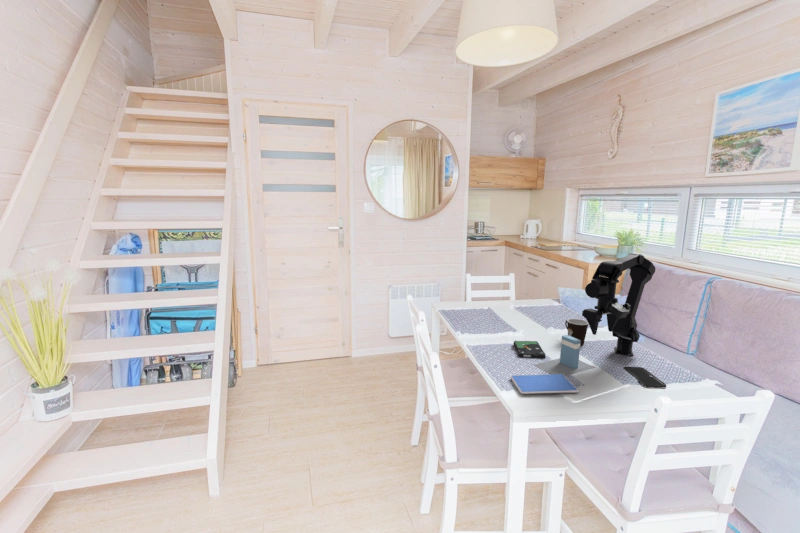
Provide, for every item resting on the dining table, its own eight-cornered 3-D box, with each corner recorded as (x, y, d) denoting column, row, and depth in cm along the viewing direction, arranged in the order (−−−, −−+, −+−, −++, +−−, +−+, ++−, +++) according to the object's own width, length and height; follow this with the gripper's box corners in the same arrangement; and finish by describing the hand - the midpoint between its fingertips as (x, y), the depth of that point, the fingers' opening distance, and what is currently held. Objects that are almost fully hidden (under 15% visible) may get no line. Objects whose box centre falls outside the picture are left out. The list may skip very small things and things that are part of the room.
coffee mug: (588, 347, 171) (590, 325, 169) (567, 345, 173) (569, 324, 171) (582, 338, 182) (584, 317, 181) (562, 336, 184) (564, 316, 182)
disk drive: (545, 361, 158) (536, 346, 173) (546, 354, 158) (537, 340, 172) (519, 360, 159) (512, 345, 174) (519, 353, 159) (513, 339, 173)
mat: (569, 357, 161) (569, 355, 161) (595, 368, 150) (595, 367, 150) (533, 366, 152) (533, 364, 152) (557, 379, 141) (557, 377, 141)
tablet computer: (562, 376, 142) (563, 373, 142) (579, 393, 130) (579, 390, 129) (509, 378, 142) (509, 375, 141) (521, 396, 129) (521, 392, 129)
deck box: (564, 361, 155) (566, 334, 153) (578, 367, 150) (580, 340, 148) (559, 362, 154) (562, 335, 152) (573, 368, 149) (575, 341, 147)
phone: (642, 367, 150) (667, 385, 136) (642, 369, 151) (667, 388, 136) (621, 366, 151) (644, 385, 136) (621, 369, 151) (644, 388, 136)
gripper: (609, 302, 141) (604, 343, 144) (642, 297, 149) (637, 336, 152) (583, 295, 151) (579, 333, 153) (615, 290, 159) (611, 327, 161)
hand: (602, 333), depth 155 cm, fingers open, 9 cm apart
